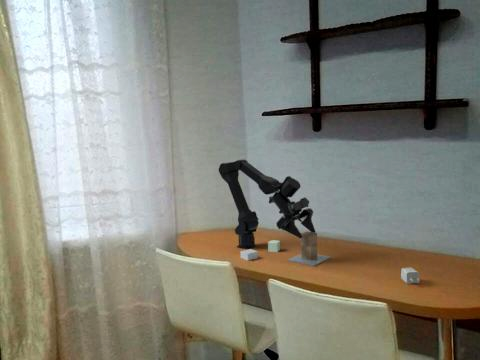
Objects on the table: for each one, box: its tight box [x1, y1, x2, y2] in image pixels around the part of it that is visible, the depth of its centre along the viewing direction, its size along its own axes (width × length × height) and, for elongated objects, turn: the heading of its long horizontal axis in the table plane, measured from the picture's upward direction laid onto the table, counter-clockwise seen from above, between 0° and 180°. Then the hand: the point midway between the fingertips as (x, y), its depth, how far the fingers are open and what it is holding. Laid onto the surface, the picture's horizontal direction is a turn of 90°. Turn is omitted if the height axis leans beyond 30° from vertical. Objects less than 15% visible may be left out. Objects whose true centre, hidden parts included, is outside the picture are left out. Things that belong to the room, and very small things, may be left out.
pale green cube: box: [267, 239, 281, 253], centre depth 187 cm, size 4×4×4 cm
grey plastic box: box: [240, 248, 259, 262], centre depth 178 cm, size 5×5×3 cm
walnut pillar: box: [300, 230, 318, 260], centre depth 171 cm, size 4×4×10 cm
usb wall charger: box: [400, 267, 420, 285], centre depth 143 cm, size 4×7×4 cm, turn 2°
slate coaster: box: [287, 253, 332, 267], centre depth 172 cm, size 12×12×1 cm
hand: (308, 235), depth 171 cm, fingers open, 9 cm apart
